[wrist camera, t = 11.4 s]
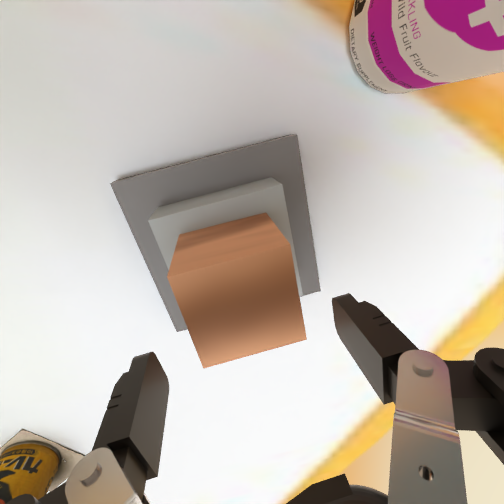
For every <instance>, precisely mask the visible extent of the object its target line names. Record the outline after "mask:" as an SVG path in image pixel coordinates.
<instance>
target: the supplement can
mask: <svg viewBox="0 0 504 504" xmlns="http://www.w3.org/2000/svg"><path fill="white" fill-rule="evenodd" d="M349 34H350V52H351V55H352V57H353V60H354V63H355V66H356V68H357V71H358V73H359V74H360V75H361V76H362V77H363V79H364V80H365V81H366V82H367V83H368V84H369V86H370V87H373V88H375V89H377V90H379V91H381V92H384V93H386V94H391V93H407V92H411V91H416V90H421V89H425V88H430V87H435V86H439V85H444V84H449V83H453V82H458V81H463V80H467V79H472V78H477V77H481V76H486V75H490V74H495V73H500V72H504V0H355V2H354V6H353V11H352V16H351V20H350V25H349Z"/></svg>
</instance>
